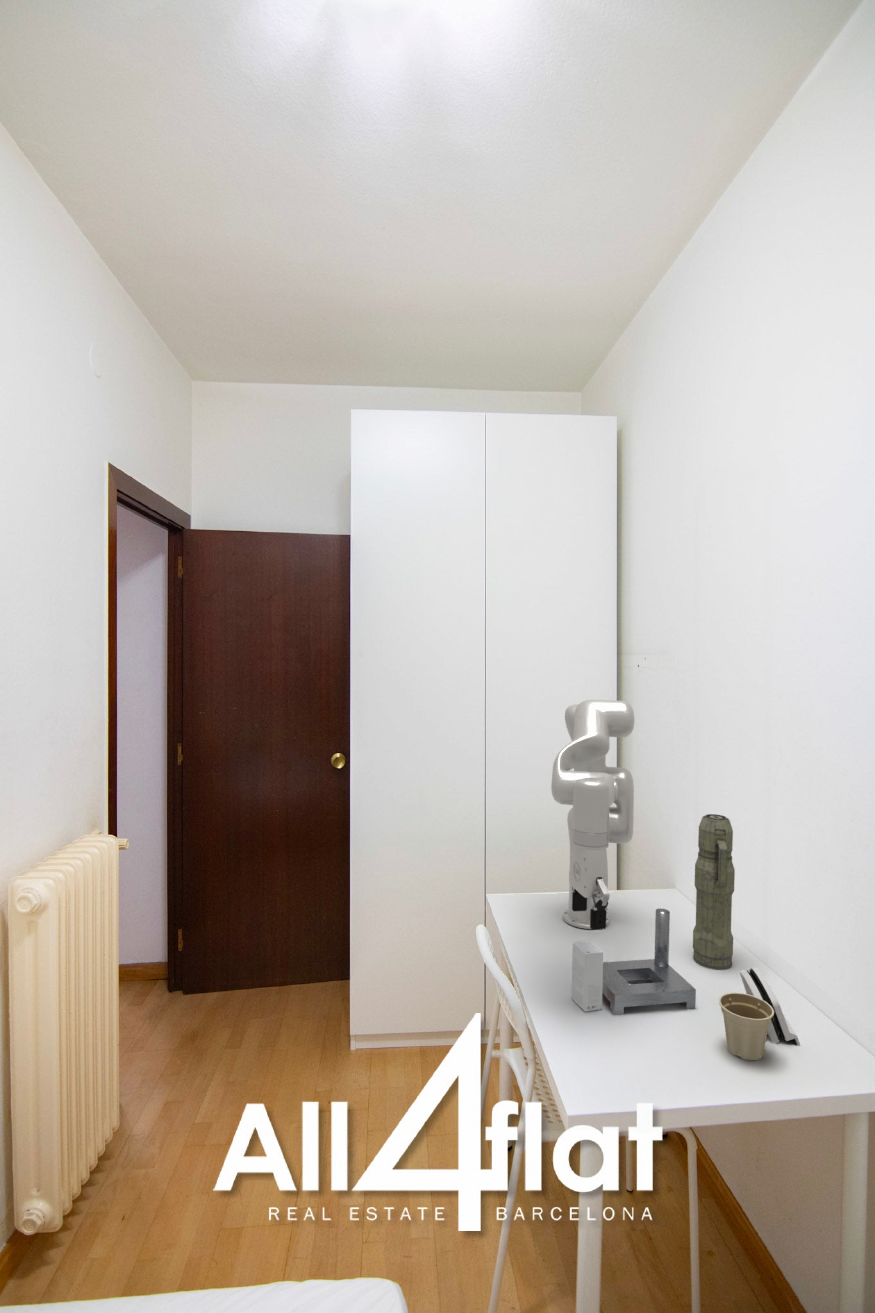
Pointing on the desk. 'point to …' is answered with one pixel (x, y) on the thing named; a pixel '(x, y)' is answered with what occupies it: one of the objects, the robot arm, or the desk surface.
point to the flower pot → (745, 1024)
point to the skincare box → (587, 976)
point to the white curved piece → (761, 989)
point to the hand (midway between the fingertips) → (588, 919)
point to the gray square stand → (647, 976)
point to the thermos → (714, 893)
